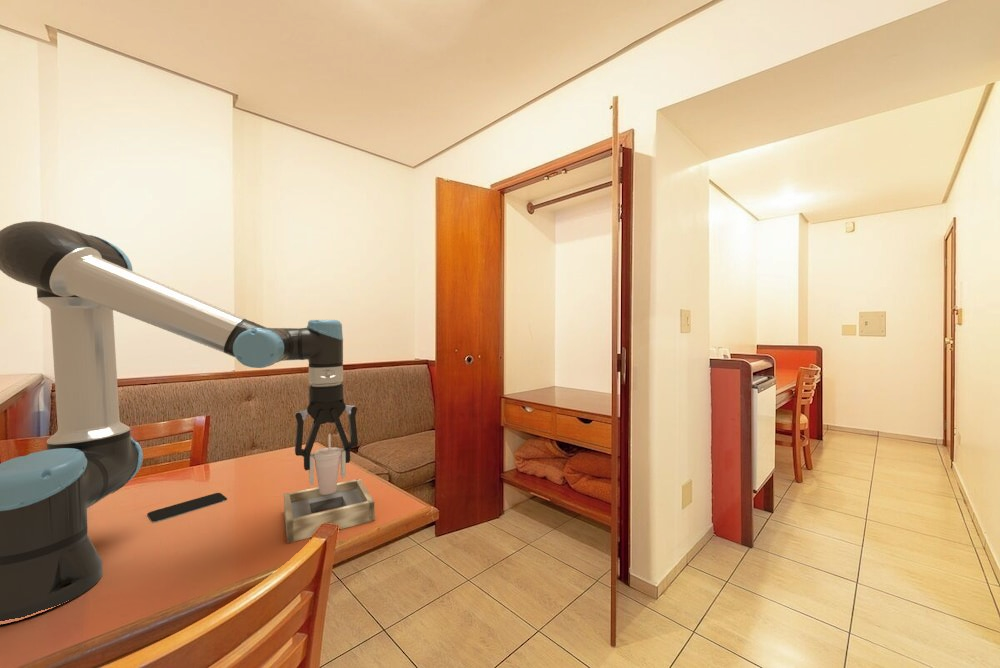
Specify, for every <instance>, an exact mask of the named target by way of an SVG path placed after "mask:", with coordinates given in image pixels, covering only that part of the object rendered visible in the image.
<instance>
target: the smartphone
mask: <svg viewBox="0 0 1000 668" xmlns="http://www.w3.org/2000/svg"><path fill="white" fill-rule="evenodd" d="M226 501H228V498H227V496H225V495H224V494H223V493H221V492H214V493H212V494H208V495H204V496H200V497H197V498H194V499H190V500H187V501H183V502H179V503H176V504H173V505H169V506H165V507H163V508H159V509H156V510H152V511H149V512H147V514H146V516H147V517H148V519H149V520H150V522H151V523H159V522H162V521H163V522H164V521H165V520H169V519H172V518H175V517H178V516H182V515H185V514H188V513H191V512H194V511H197V510H201V509H204V508H209V507H211V506H214V505H217V504H221V503H223V502H226Z"/></svg>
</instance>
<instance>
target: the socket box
mask: <svg viewBox="0 0 1000 668" xmlns="http://www.w3.org/2000/svg"><path fill="white" fill-rule="evenodd" d="M283 504H284V505H283V507H284V508H283V509H284V510H283V511H284V512H283V513H284V522H285V535H286V544H291V543H294V542H297V541H298V542H299V541H302V540H306V539H310V538H313V537H312V535H313V534H314V532H315V531H316V530H317V528H318V527H319V526H320V525H321V524H323V523H332V524H337V525H339V528H340V530H343V529H347V528H351V527H355V526H359V525H362V524H363V525H364V524H366V523H370V522H373V521H375V501H374V499H373V497H372V496H371V494H370V492H369V491H368V489H367V487H366V486H365V484H364V483H363V481H362V479H361V478H355V479H350V480H346V481H342V482H337V488H336V491H335V492H334V493H331V494H327V495H322V494H320V493H319V486H317V487H312V488H307V489H302V490H297V491H291V492H287V493H284V494H283Z"/></svg>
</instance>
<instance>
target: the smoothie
mask: <svg viewBox="0 0 1000 668" xmlns="http://www.w3.org/2000/svg"><path fill="white" fill-rule="evenodd" d="M327 437H328V438H327V440H328V441H327V445H328V447H324V448H320V449H317V450H315V451H313V453H312V454H313V457H314V466H315V473H316V477H317V478H316V479H317V484H318V485H317V487H319V493H320V494H322V495H327V494H331V493H334V492H335V491H336V488H337V483H338V480H339V479H338V478H339V471H340V470H339V469H340V464H341V457H340V455H342V450H341V449H342V448H340V447H332V441H331V440H332V434H331V432H329V433H328V434H327Z"/></svg>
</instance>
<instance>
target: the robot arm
mask: <svg viewBox="0 0 1000 668" xmlns="http://www.w3.org/2000/svg"><path fill="white" fill-rule="evenodd" d="M0 271H1V272H2V273H3V274H4V275H6V276H7V277H8V278H11V279H12V280H15V282H16V281H17V282H19V283H22V284H25V285H27V286H30V287H34V288H36V295H37V296H36V299H37V301H38V302H40V303H41V304H43V305H45V306H46V307H48V309H49V311H50V325H51V327H50V328H51V341H52V342H51V343H52V354H53V355H52V356H53V357H52V358H53V371H54V373H53V374H54V388H55V402H56V403H55V404H56V405H55V406H56V420H57V421H56V422H57V430H56V432H55V433H54V434H52V435H51V436H50V437H49V438H48V439H47V440H46V449H45V450H40V451H36V452H31V453H29V454H27V455H22V456H21V455H20V456H17V457H14V458H11V459H8V460H6V461H3V462H1V463H0V621H5V620H9V619H15V618H21V617H25V616H27V615H31V614H33V613H36V612H38V611H41V610H45V609H48V608H51V607H54V606H57V605H59V604H62V603H64V602H66V601H68V600H70V601H72V600H74V599H76V598H78V597H79V596H81V595H82V594H84V593H85V592H87V591H89V590H90V589H91V588H93V587H94V586H95V585H96V584H97V583H98V582H99V581H100V579H101V578H102V576H103V574H104V573H103V571H104V570H103V561H102V558H101V556H100V555H99V553H98V551H97V549H96V547H95V546H94V543H93V542H92V540H91V539H90V537H89V534H88V533H89V531H88V508H91V507H92V506H94V505H95V504H97V503H98V502H99V501H101V500H103V499H104V498H106V497H108V496H110V495H111V494H114V493H115V492H118V491H119V490H120V489H122V488H123V487H124V486H126V484H128V483H129V482H130V481H131V480H132V479H133V478H134V477H135V476H136V475H137V473H139V471H140V469H141V468H142V467H141V466H142V465H143V460H144V452H143V449H142V447H141V445H140V443H139V442H138V441H135V440H134V437H132V436H131V427H130V426H128V425H126V424H125V423H123V422H121V419H120V406H119V387H118V375H117V374H118V373H117V372H118V371H117V370H118V369H117V359H116V358H117V357H116V356H117V355H116V354H117V353H116V341H115V340H116V338H115V325H114V311H115V312H118V313H120V314H123V315H125V316H128V317H130V318H133V319H135V320H138V321H141V322H143V323H146V324H148V325H152V326H154V327H155V328H156V327H157V328H158V329H162V330H165V331H167V332H169V333H172V334H175V335H177V336H180V337H183V338H184V339H185V338H186V339H188V340H190V341H193V342H196V343H197V344H200V345H203V346H205V347H208V348H211V349H214V350H216V351H219V352H221V353H223V354H226V355H228V356H231V357H232V358H235V359H236V361H238V362H239V363H240V364H241V365H243V366H245V367H248V368H254V369H255V368H256V369H262V368H263V369H264V368H266V367H267V368H268V367H270V366H273V365H275V364H276V363H279V362H282V361H284V362H285V361H306V360H307V361H308V383H309V384H311V385H310V386H309V387H308V405H307V407H306V409H303V410H300V411H299V410H297V411H295V412H294V417H295V419H296V430H295V431H296V432H295V441H294V442H295V443H294V444H295V445H294V454H295V455H296V456H297V457H299V456H301V457H303V470H304V471H308V475H309V476H308V478H309V479H308V480H309V485H310V486H312V485H315V473H314V471H315V469H314V468H315V467H314V466H315V459H314V457H313V453H312V450H313V447H314V445H315V441H316V438H317V435H318V432H319V429H320V428H321V425H324V424H327V423H328V424H334V426H335V428H336V431H337V433H338V436H339V439H340V441H341V443H342V446H343V448H340V449H341V450H342V455H340V476H341V478H342V479H346V478H347V469H346V468H347V467H346V466H347V464H348V463H350V462H351V449H352V448H354V447H357V446H358V445H359V441H358V430H357V420H356V416H357V411H358V408H357V406H355V405H354V404H351V405H348V404H346V403H345V401H344V385H343V383H342V382H344V338H343V325H342V323H341V321H340V320H338V319H309V321H308V322H307V326H306V327H299V328H297V327H295V328H293V327H292V328H291V327H290V328H289V327H287V328H286V327H281V328H280V327H266V326H264V325H261V324H259V323H256V322H254V321H253V320H252V321H251V320H248V319H247V318H244V317H242V316H240V315H237V314H235V313H232V312H230V311H229V310H228V311H227V310H225V309H223V308H220V307H217V306H215V305H213V304H210V303H208V302H206V301H205V300H202V299H199V298H197V297H194V296H192V295H189V294H187V293H186V292H185V293H184V292H182V291H180V290H178V289H175V288H173V287H170V286H169V285H166V284H164V283H161V282H158V281H156V280H154V279H152V278H149V277H147V276H145V275H143V274H140V273H137V272H135V271H134V270H133V265H132V262H131V261H130V259H129V257H128V255H127V254H126V253H125V252H124V251H123V250H122V249H121V248H119V247H118V246H117V245H115V244H113V243H111V242H110V241H107V240H105V239H103V238H100V237H98V236H95V235H92V234H86V233H83V232H80V231H78V230H74V229H71V228H67V227H64V226H62V225H59V224H55V223H51V222H47V221H46V222H45V221H35V220H34V221H33V220H32V221H31V220H30V221H21V222H15V223H12V224H10V225H8V226H6V227H4V228H2V229H0ZM344 411H346V412H345V413H346V414H347V415H348V426H349V434H350V435H349V436H350V441H348V438H347V436H346V433H345V431H344V427H343V425H342V422H341V420H340V417H341V416H342V415H343V413H344ZM307 415H309V416H310V417H311V418H312V419H313V421H312V425H311V429H310V431H309V434H308V438H307V440H306V443H305V446H304V448H303V436H304V434H303V433H304V421H305V420H306V419H307ZM77 596H78V597H77ZM73 598H74V599H73ZM71 599H72V600H71ZM68 602H69V601H68ZM64 604H65V603H64ZM62 605H63V604H62Z"/></svg>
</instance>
